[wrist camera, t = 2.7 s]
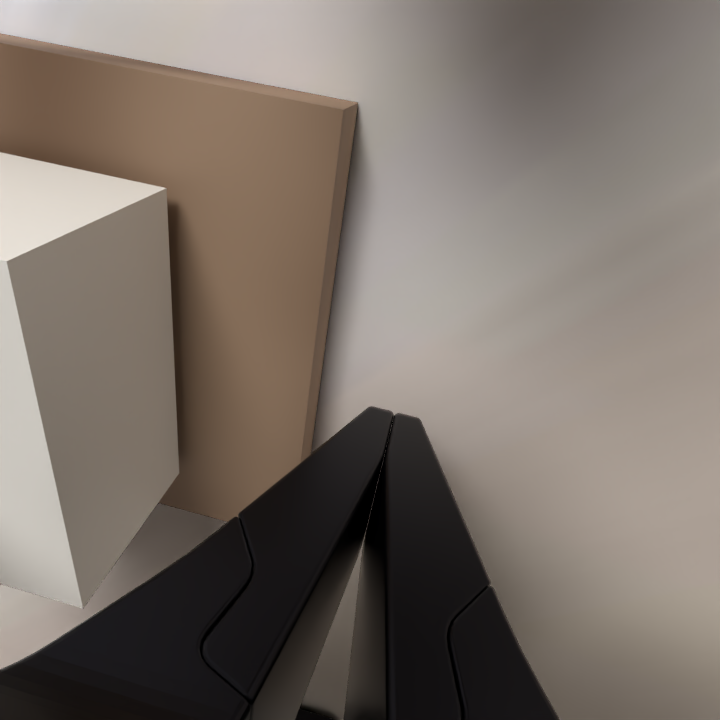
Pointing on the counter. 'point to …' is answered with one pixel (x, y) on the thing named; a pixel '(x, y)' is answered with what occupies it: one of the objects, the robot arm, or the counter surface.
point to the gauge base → (211, 239)
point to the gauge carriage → (81, 373)
